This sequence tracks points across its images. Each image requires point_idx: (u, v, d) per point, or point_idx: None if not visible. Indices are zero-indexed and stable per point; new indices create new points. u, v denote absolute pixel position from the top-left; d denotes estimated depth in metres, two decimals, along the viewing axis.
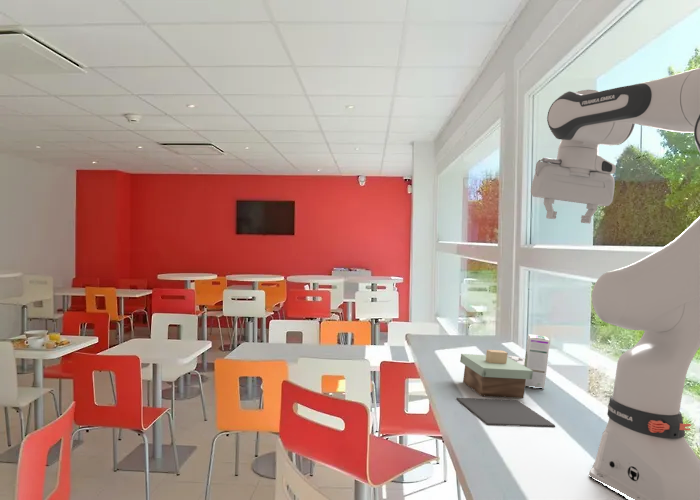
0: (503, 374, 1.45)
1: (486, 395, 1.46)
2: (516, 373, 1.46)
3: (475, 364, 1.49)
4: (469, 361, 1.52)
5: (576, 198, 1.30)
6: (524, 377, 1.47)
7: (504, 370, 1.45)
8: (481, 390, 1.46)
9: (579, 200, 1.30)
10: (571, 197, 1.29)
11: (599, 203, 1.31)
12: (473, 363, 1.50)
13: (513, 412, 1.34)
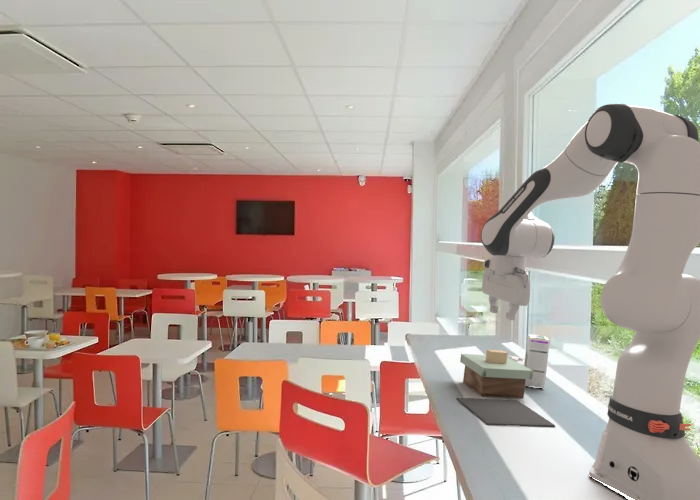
0: (503, 374, 1.45)
1: (486, 395, 1.46)
2: (516, 373, 1.46)
3: (475, 364, 1.49)
4: (469, 361, 1.52)
5: None
6: (524, 377, 1.47)
7: (504, 370, 1.45)
8: (481, 390, 1.46)
9: None
10: None
11: None
12: (473, 363, 1.50)
13: (513, 412, 1.34)
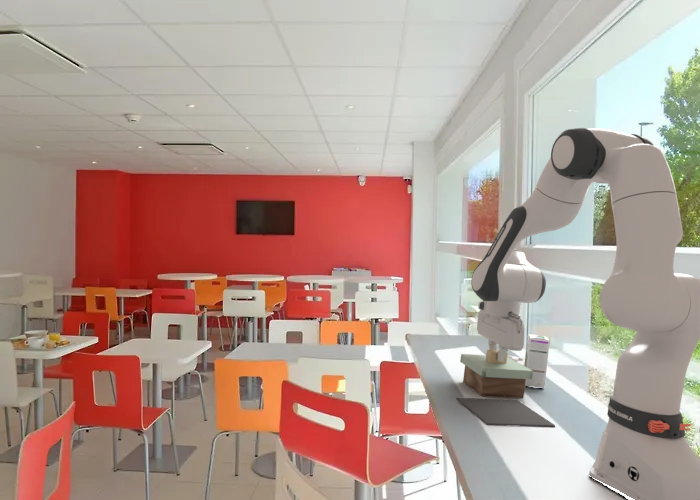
0: (503, 374, 1.45)
1: (486, 395, 1.46)
2: (516, 373, 1.46)
3: (475, 364, 1.49)
4: (469, 361, 1.52)
5: None
6: (524, 377, 1.47)
7: (504, 370, 1.45)
8: (481, 390, 1.46)
9: None
10: None
11: None
12: (473, 363, 1.50)
13: (513, 412, 1.34)
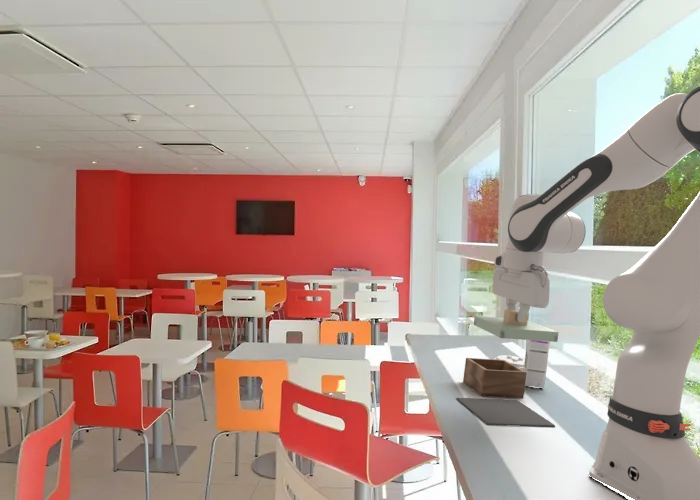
0: (524, 335, 1.26)
1: (486, 395, 1.46)
2: (539, 334, 1.27)
3: (492, 325, 1.30)
4: (484, 322, 1.33)
5: None
6: (548, 339, 1.28)
7: (526, 331, 1.26)
8: (481, 390, 1.46)
9: None
10: None
11: None
12: (489, 324, 1.31)
13: (513, 412, 1.34)
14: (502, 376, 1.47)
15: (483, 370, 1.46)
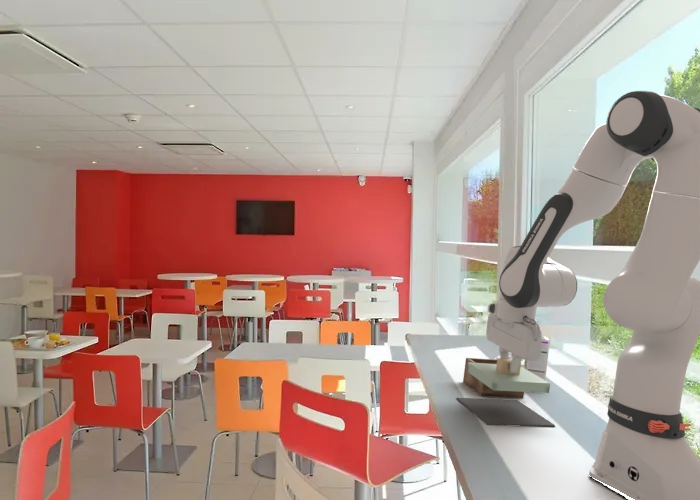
0: (516, 387, 1.27)
1: (486, 395, 1.46)
2: (531, 386, 1.28)
3: (484, 375, 1.31)
4: (477, 371, 1.34)
5: None
6: (540, 391, 1.29)
7: (518, 383, 1.27)
8: (481, 390, 1.46)
9: None
10: None
11: None
12: (482, 374, 1.32)
13: (513, 412, 1.34)
14: None
15: None
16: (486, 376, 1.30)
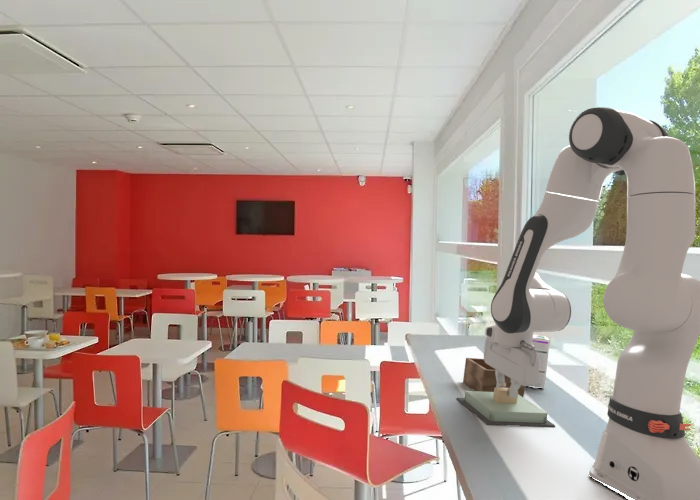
0: (513, 417, 1.27)
1: None
2: (528, 416, 1.28)
3: (481, 405, 1.31)
4: (474, 400, 1.34)
5: None
6: (537, 420, 1.29)
7: (515, 413, 1.27)
8: (481, 390, 1.46)
9: None
10: None
11: None
12: (479, 403, 1.32)
13: None
14: None
15: (483, 370, 1.46)
16: (483, 406, 1.30)
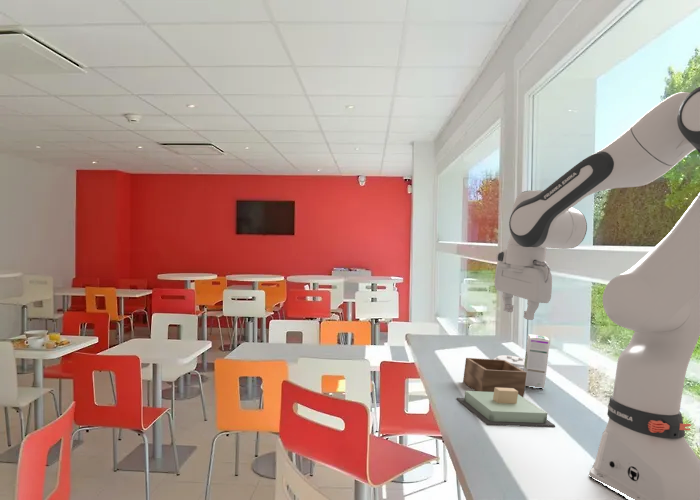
0: (513, 417, 1.27)
1: None
2: (528, 416, 1.28)
3: (481, 405, 1.31)
4: (474, 400, 1.34)
5: None
6: (537, 420, 1.29)
7: (515, 413, 1.27)
8: (481, 390, 1.46)
9: None
10: None
11: None
12: (479, 403, 1.32)
13: None
14: (502, 376, 1.47)
15: (483, 370, 1.46)
16: (483, 406, 1.30)
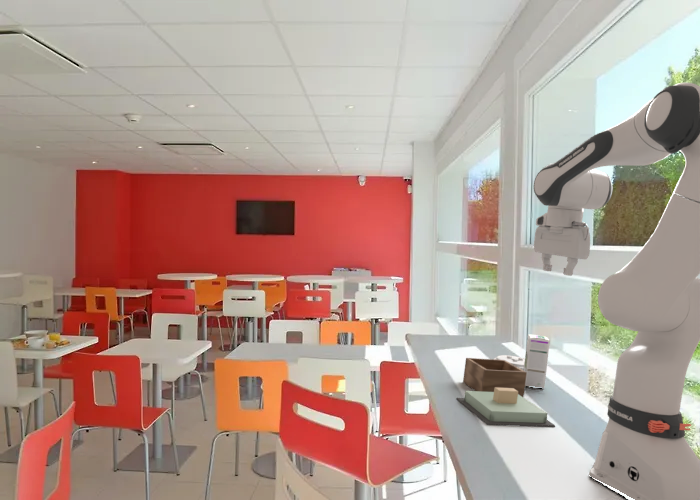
0: (513, 417, 1.27)
1: None
2: (528, 416, 1.28)
3: (481, 405, 1.31)
4: (474, 400, 1.34)
5: None
6: (537, 420, 1.29)
7: (515, 413, 1.27)
8: (481, 390, 1.46)
9: None
10: None
11: None
12: (479, 403, 1.32)
13: None
14: (502, 376, 1.47)
15: (483, 370, 1.46)
16: (483, 406, 1.30)
